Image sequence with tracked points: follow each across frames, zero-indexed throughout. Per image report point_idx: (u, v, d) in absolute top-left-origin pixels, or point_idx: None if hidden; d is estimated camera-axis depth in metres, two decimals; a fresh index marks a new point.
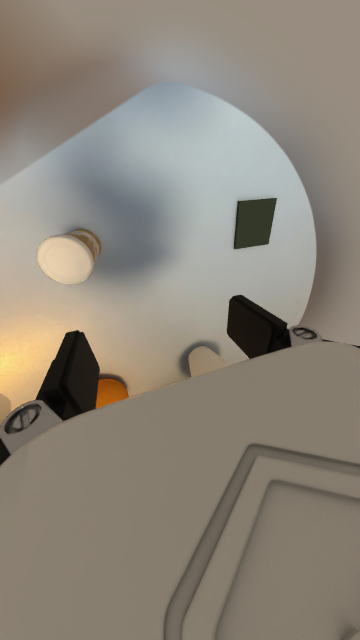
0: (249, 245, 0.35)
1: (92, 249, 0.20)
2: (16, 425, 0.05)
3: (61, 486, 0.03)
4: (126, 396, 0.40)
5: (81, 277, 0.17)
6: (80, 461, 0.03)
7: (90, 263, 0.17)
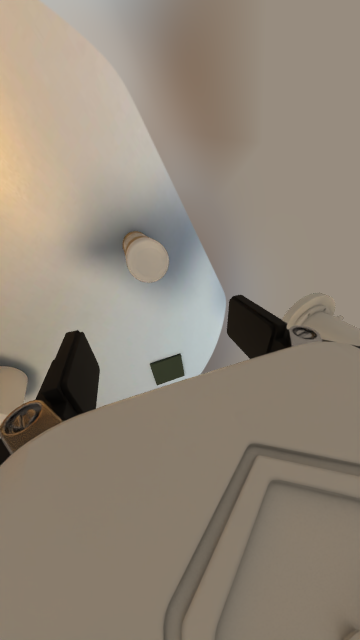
0: (154, 373, 0.45)
1: None
2: (16, 425, 0.05)
3: (61, 486, 0.03)
4: None
5: (136, 274, 0.19)
6: (80, 461, 0.03)
7: (149, 282, 0.20)
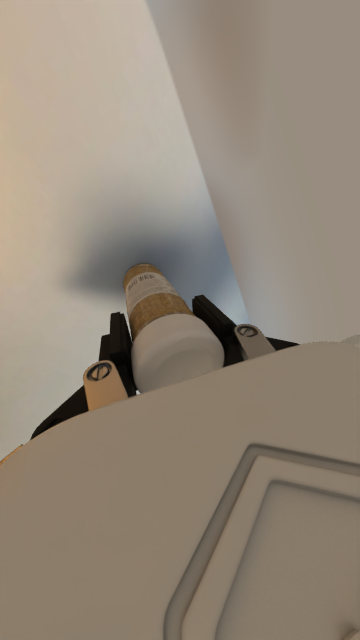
0: None
1: None
2: (94, 377, 0.07)
3: (61, 486, 0.03)
4: None
5: None
6: (80, 461, 0.03)
7: None
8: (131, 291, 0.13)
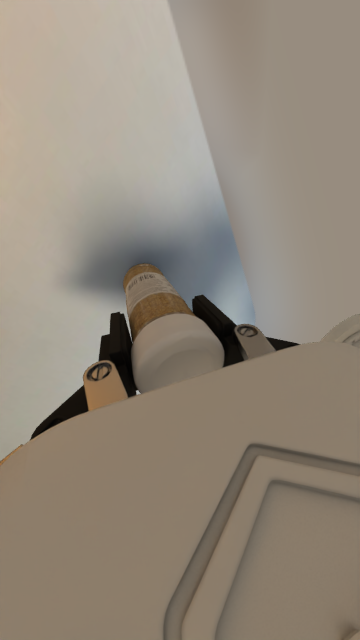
0: None
1: None
2: (94, 377, 0.07)
3: (61, 486, 0.03)
4: None
5: None
6: (80, 461, 0.03)
7: None
8: (131, 291, 0.13)
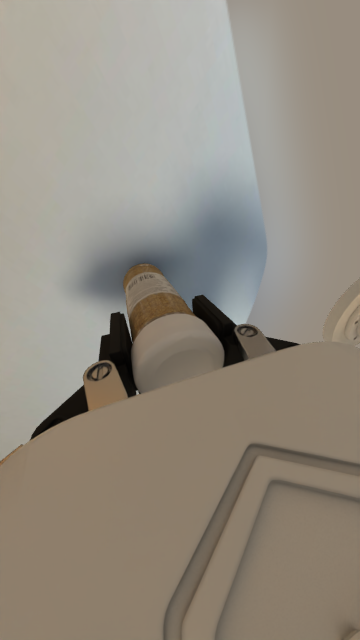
0: None
1: None
2: (94, 377, 0.07)
3: (61, 486, 0.03)
4: None
5: None
6: (80, 461, 0.03)
7: None
8: (131, 291, 0.13)
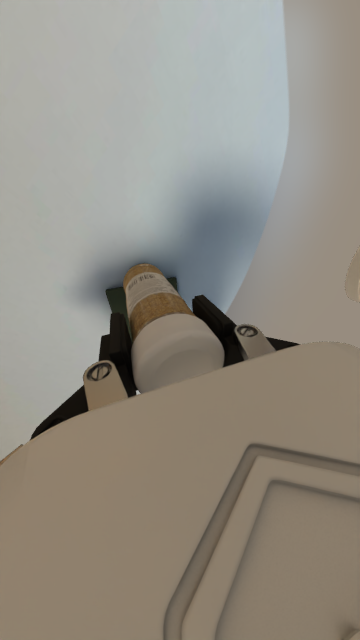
0: None
1: None
2: (94, 377, 0.07)
3: (61, 486, 0.03)
4: None
5: None
6: (80, 461, 0.03)
7: None
8: (131, 291, 0.13)
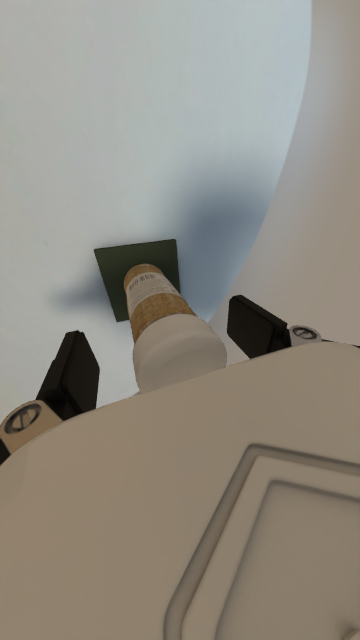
0: (107, 283, 0.18)
1: None
2: (16, 425, 0.05)
3: (61, 486, 0.03)
4: None
5: None
6: (80, 461, 0.03)
7: None
8: (132, 291, 0.13)
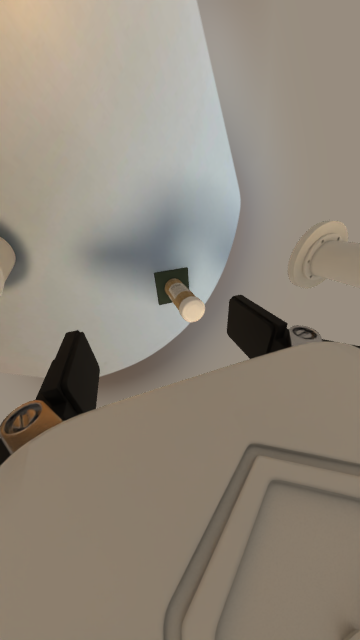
0: (157, 286, 0.41)
1: None
2: (16, 425, 0.05)
3: (61, 486, 0.03)
4: None
5: (185, 318, 0.31)
6: (80, 461, 0.03)
7: (192, 321, 0.32)
8: (173, 290, 0.36)
